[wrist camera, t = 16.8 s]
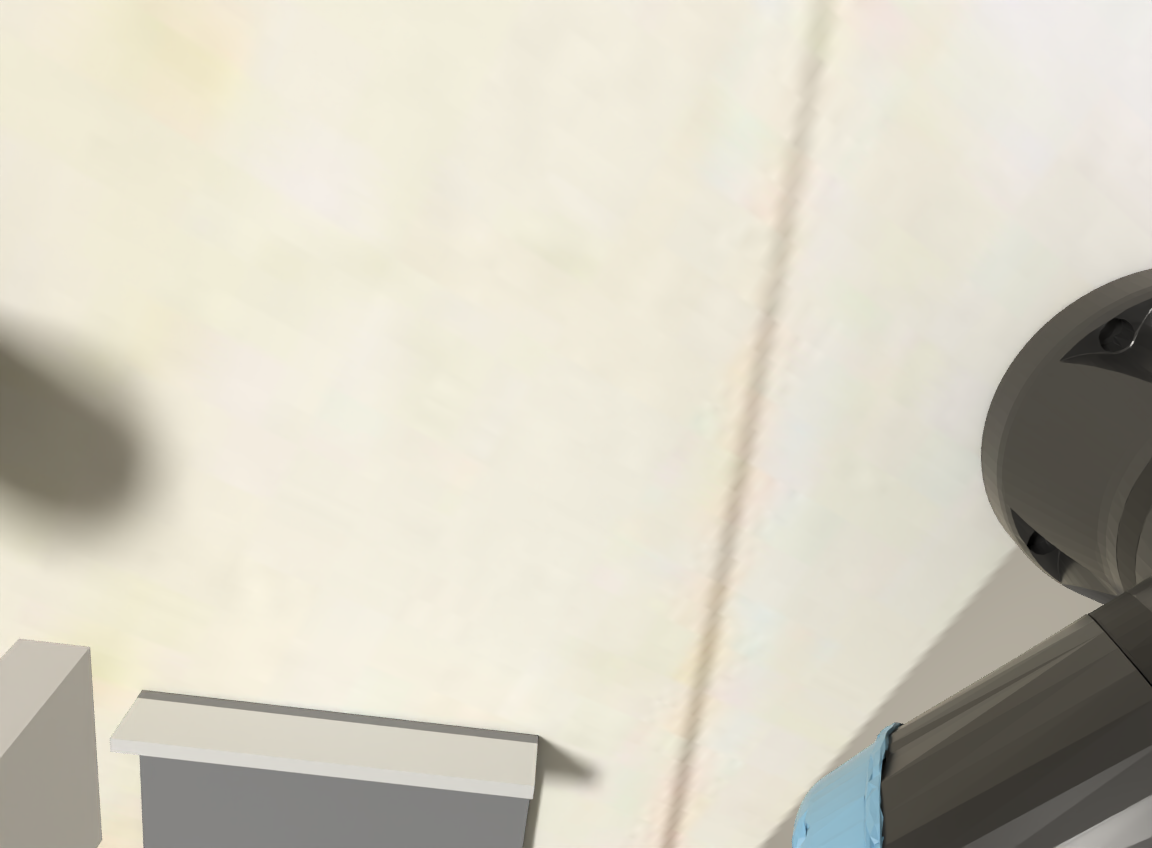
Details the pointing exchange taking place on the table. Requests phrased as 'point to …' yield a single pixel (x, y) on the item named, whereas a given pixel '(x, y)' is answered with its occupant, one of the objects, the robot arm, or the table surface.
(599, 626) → the table surface
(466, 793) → the slot rack
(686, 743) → the table surface
